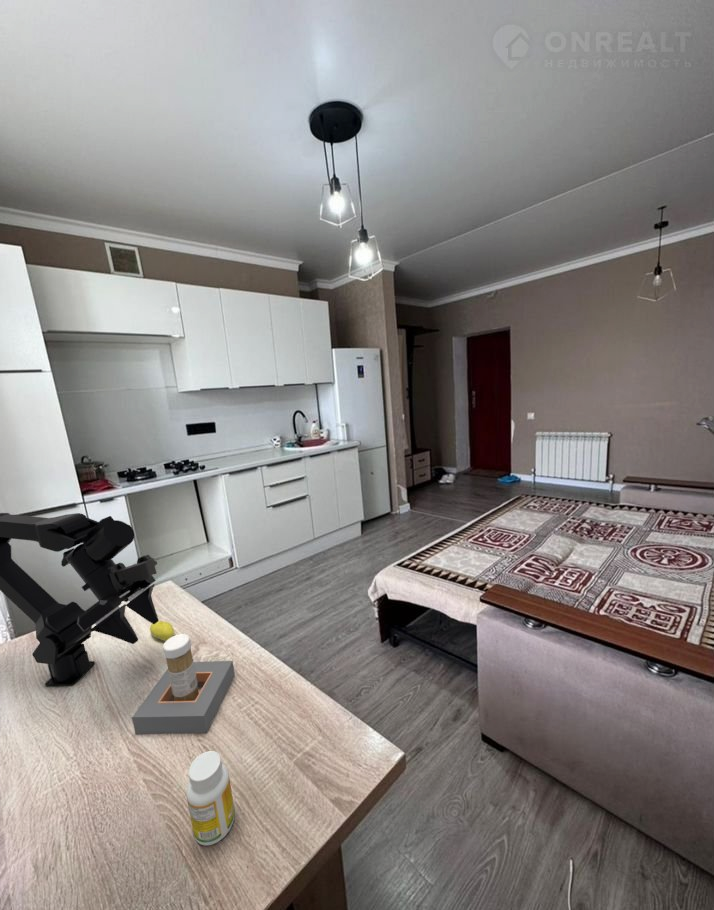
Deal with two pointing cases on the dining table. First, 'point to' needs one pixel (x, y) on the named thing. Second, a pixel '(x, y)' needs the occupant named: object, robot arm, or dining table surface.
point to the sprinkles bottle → (181, 668)
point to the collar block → (185, 702)
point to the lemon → (162, 630)
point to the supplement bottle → (209, 798)
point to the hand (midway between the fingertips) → (146, 631)
